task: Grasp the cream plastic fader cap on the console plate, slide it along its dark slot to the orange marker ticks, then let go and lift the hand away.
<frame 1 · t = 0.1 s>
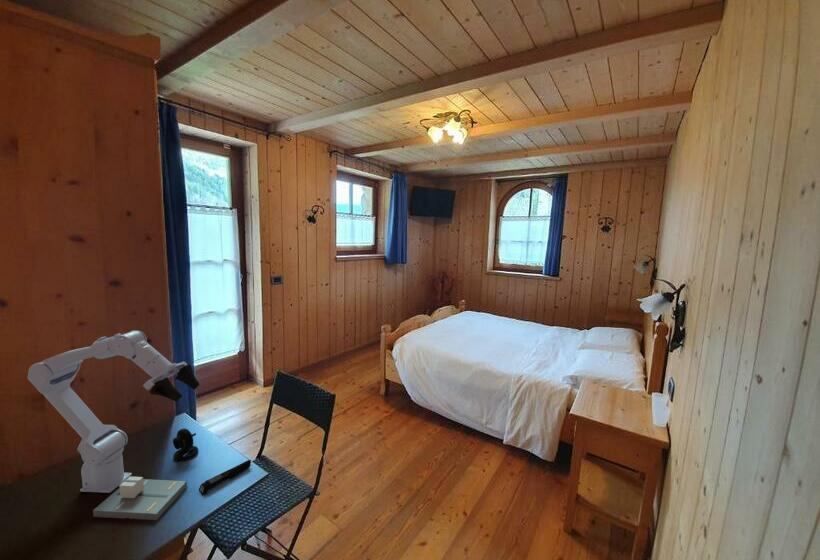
hand: (188, 392, 98), 32 cm above the table, tool tilted 50°, fingers open, 7 cm apart
electric trimmer: (225, 480, 106), on the table
console: (143, 500, 97), on the table
fader: (131, 487, 96), point 4 cm above the table, slide at 0.0 cm
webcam: (186, 455, 117), on the table
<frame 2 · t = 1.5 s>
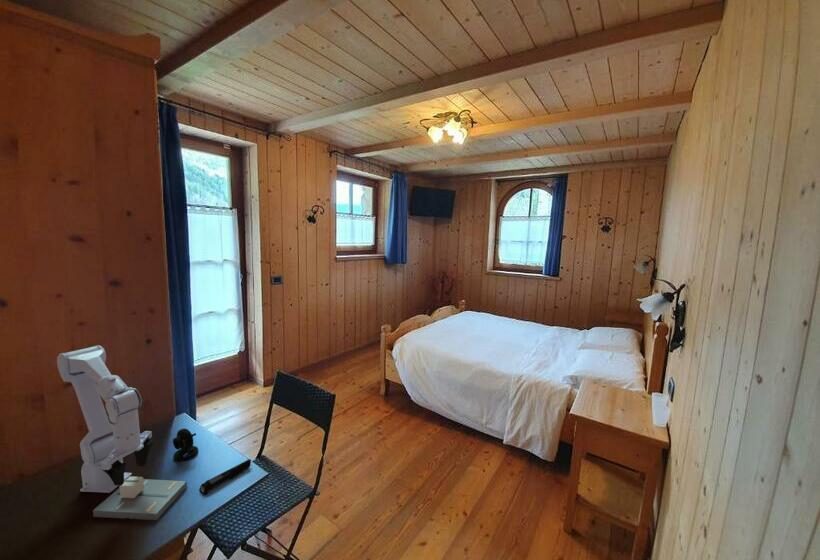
hand: (130, 474, 96), 9 cm above the table, tool pointing down, fingers open, 7 cm apart
nothing on the table moved.
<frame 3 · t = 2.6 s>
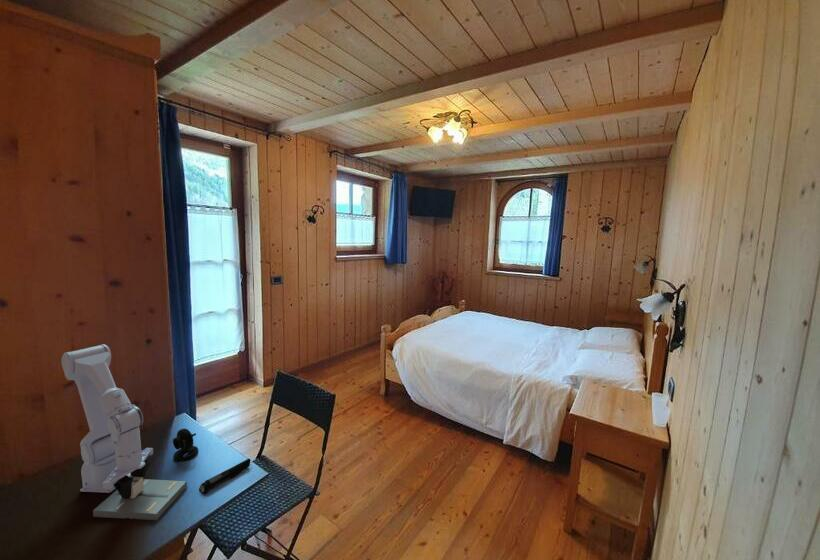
hand: (132, 492, 96), 3 cm above the table, tool pointing down, fingers closed on fader, 3 cm apart
fader: (131, 487, 96), point 4 cm above the table, slide at 0.0 cm, touching gripper
everything else where it was.
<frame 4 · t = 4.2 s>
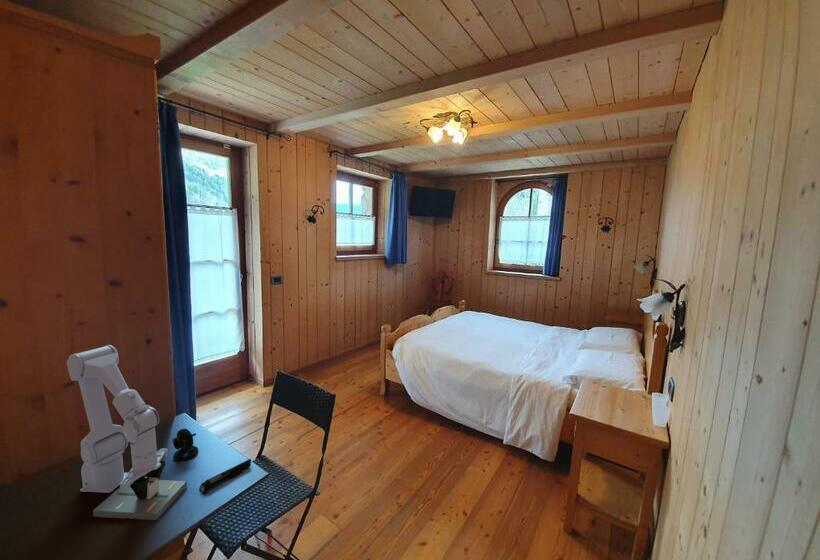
hand: (147, 492, 96), 3 cm above the table, tool pointing down, fingers closed on fader, 3 cm apart
fader: (147, 487, 96), point 4 cm above the table, slide at 4.7 cm, touching gripper
everything else where it was.
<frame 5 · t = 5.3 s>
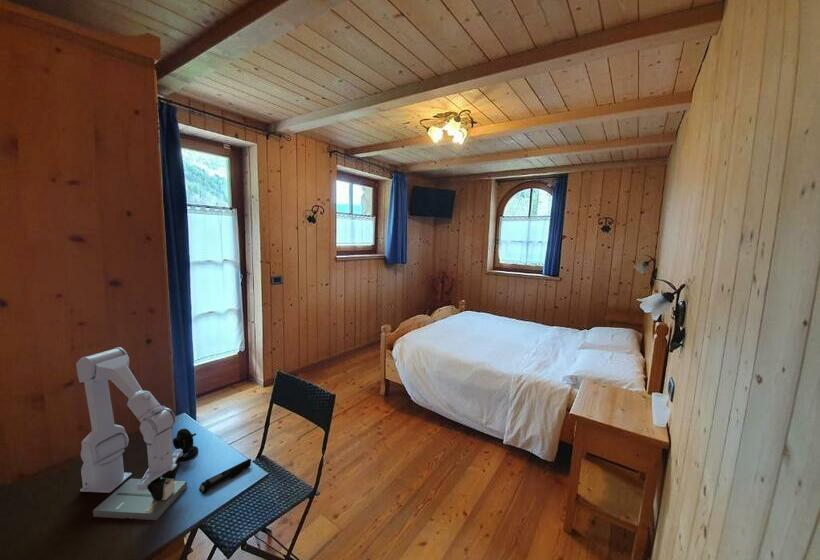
hand: (163, 493, 96), 3 cm above the table, tool pointing down, fingers closed on fader, 3 cm apart
fader: (163, 488, 96), point 4 cm above the table, slide at 9.4 cm, touching gripper
everything else where it was.
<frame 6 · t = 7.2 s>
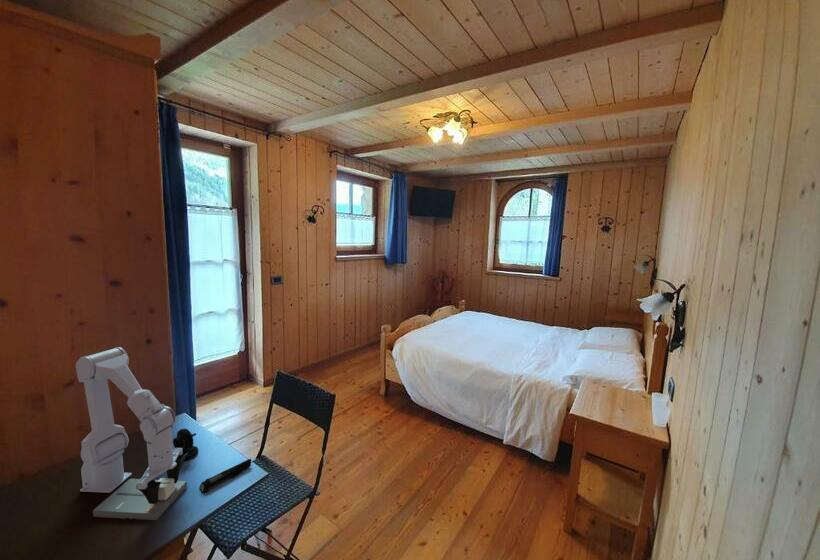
hand: (163, 492, 96), 3 cm above the table, tool pointing down, fingers open, 7 cm apart
fader: (163, 488, 96), point 4 cm above the table, slide at 9.5 cm
everything else where it was.
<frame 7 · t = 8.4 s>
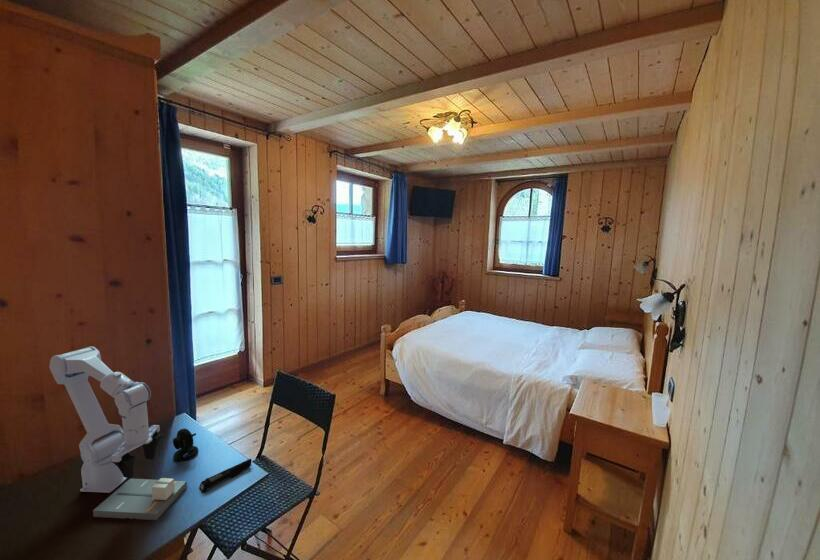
hand: (139, 467, 97), 9 cm above the table, tool pointing down, fingers open, 7 cm apart
nothing on the table moved.
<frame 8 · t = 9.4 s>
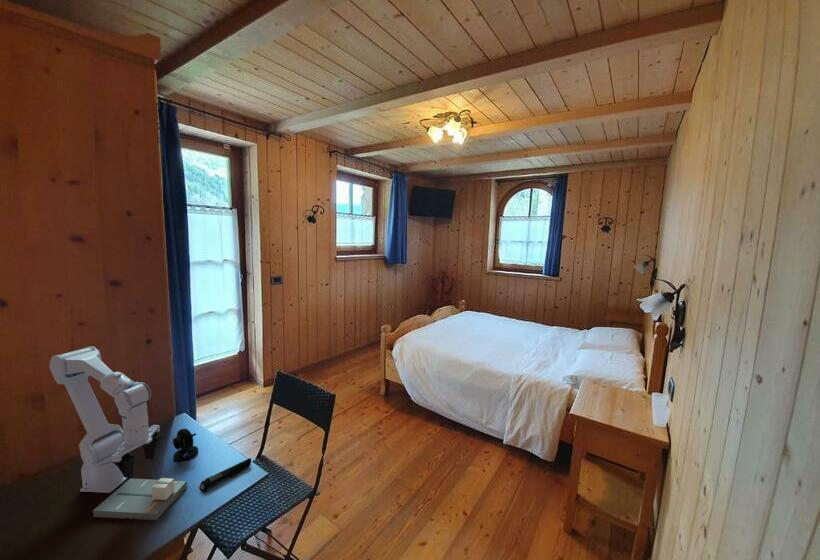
hand: (139, 467, 97), 9 cm above the table, tool pointing down, fingers open, 7 cm apart
nothing on the table moved.
at the end: fader slide at 9.5 cm; the gripper is holding nothing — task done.
